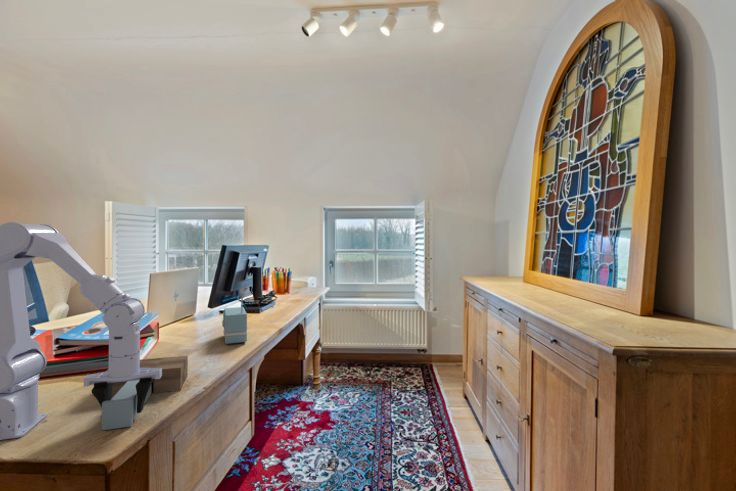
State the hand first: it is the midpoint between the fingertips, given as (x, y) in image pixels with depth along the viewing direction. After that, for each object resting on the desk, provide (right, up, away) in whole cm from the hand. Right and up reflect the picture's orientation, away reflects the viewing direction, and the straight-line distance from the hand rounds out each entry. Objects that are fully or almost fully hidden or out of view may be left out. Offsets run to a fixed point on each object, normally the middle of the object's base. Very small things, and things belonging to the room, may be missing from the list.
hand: (124, 413), depth 77 cm
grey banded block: (0, -1, +63) cm, 63 cm away
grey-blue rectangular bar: (-1, -1, +4) cm, 4 cm away
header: (-6, -1, +17) cm, 18 cm away
